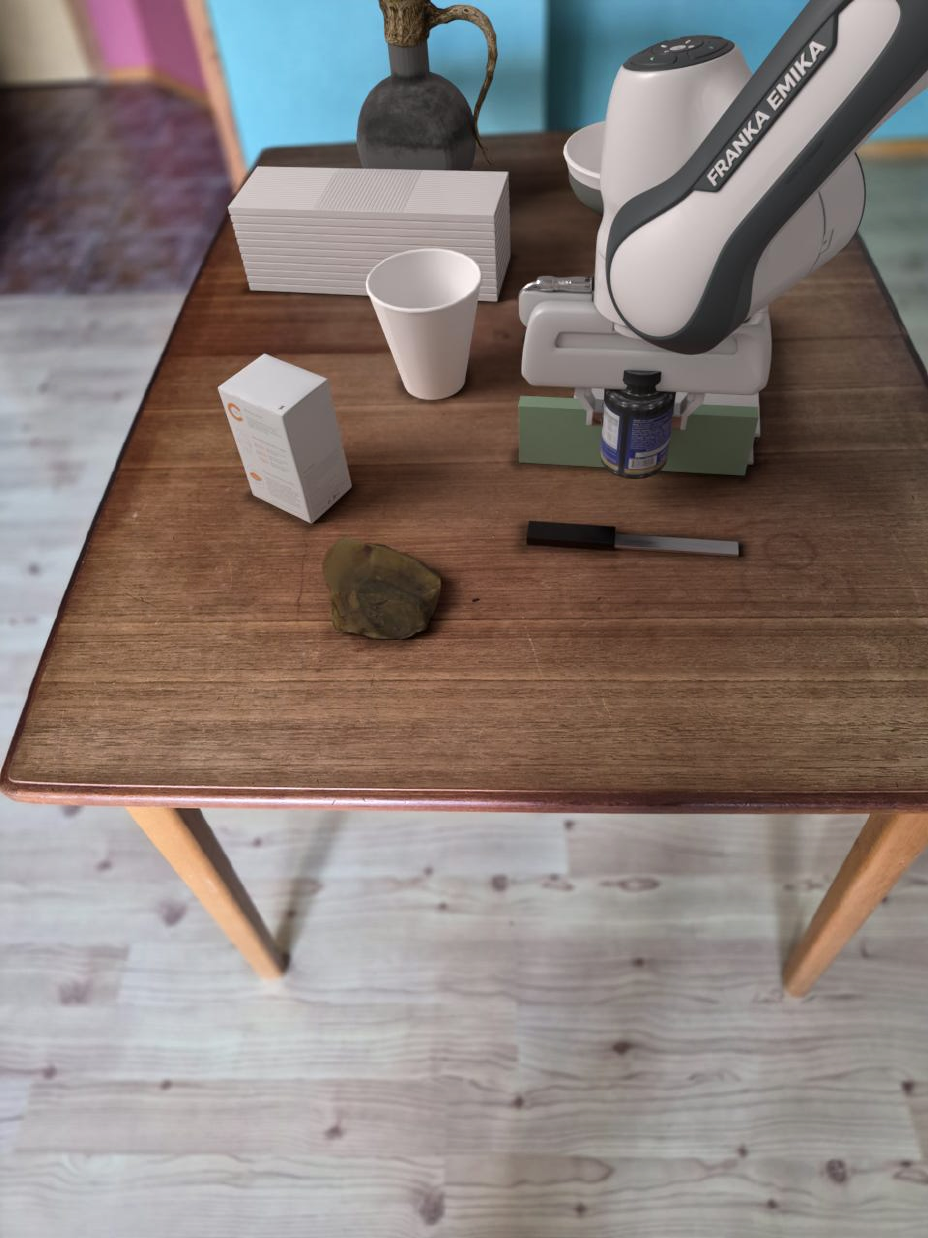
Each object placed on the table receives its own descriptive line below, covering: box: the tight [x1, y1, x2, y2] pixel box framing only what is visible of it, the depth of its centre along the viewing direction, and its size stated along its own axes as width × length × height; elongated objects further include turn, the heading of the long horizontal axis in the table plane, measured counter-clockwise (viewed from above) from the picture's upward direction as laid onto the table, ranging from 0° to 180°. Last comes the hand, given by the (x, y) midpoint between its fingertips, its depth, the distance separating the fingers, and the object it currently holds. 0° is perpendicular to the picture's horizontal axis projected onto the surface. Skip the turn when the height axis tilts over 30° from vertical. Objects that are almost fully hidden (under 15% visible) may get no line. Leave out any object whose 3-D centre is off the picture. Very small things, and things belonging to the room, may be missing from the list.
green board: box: [517, 395, 759, 476], centre depth 85 cm, size 22×2×7 cm, turn 81°
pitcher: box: [356, 0, 499, 171], centre depth 112 cm, size 11×19×30 cm, turn 76°
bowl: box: [563, 120, 605, 217], centre depth 117 cm, size 19×19×8 cm
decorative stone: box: [321, 536, 442, 640], centre depth 77 cm, size 10×9×4 cm
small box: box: [217, 353, 353, 525], centre depth 83 cm, size 8×6×13 cm
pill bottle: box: [600, 370, 676, 480], centre depth 78 cm, size 6×6×11 cm
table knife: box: [525, 520, 740, 558], centre depth 81 cm, size 19×2×1 cm, turn 81°
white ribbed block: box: [227, 165, 512, 302], centre depth 110 cm, size 32×11×11 cm, turn 79°
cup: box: [366, 248, 483, 401], centre depth 94 cm, size 12×12×12 cm
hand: (636, 423), depth 79 cm, fingers closed on pill bottle, 6 cm apart
